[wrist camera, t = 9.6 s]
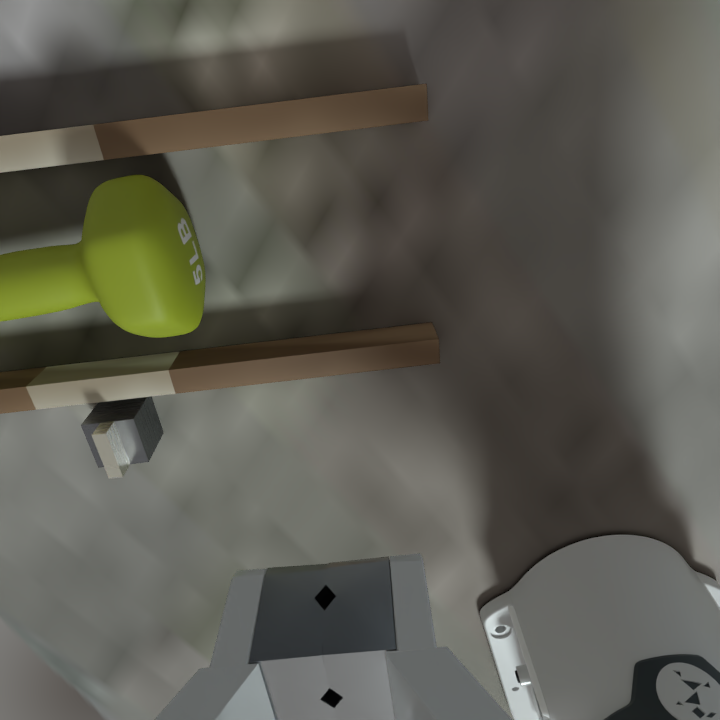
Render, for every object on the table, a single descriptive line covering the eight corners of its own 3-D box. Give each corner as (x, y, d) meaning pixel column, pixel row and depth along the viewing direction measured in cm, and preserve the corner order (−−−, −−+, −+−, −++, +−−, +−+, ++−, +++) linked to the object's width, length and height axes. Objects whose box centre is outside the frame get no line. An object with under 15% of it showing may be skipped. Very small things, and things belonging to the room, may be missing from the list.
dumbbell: (185, 160, 27) (137, 181, 21) (227, 305, 31) (198, 361, 24) (-123, 215, 28) (-262, 252, 21) (-46, 351, 31) (-145, 418, 25)
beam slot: (433, 345, 32) (440, 363, 30) (7, 394, 33) (-16, 415, 30) (419, 84, 26) (426, 83, 24) (-108, 149, 26) (-148, 154, 24)
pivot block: (163, 432, 34) (141, 474, 30) (117, 438, 34) (90, 480, 30) (150, 392, 33) (125, 431, 29) (101, 398, 33) (71, 437, 29)
